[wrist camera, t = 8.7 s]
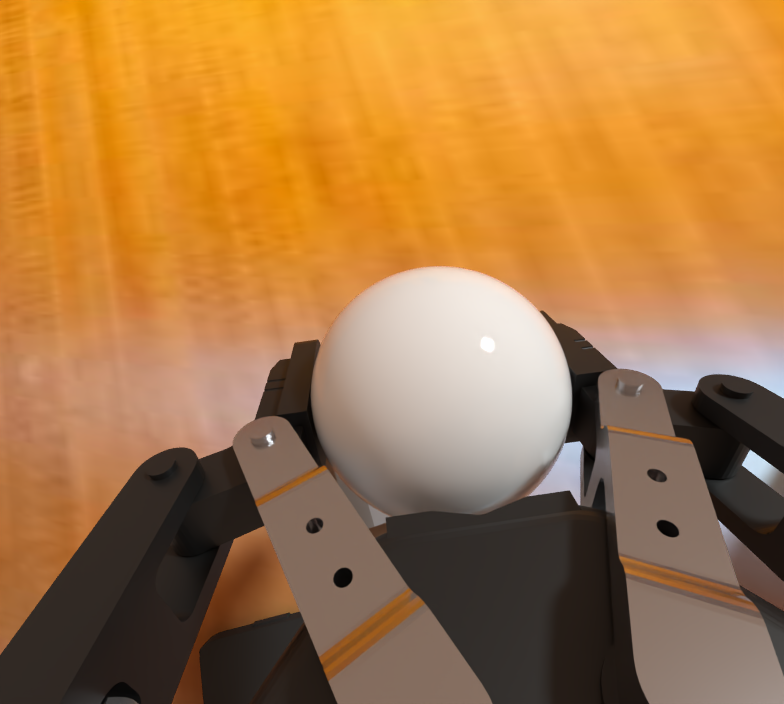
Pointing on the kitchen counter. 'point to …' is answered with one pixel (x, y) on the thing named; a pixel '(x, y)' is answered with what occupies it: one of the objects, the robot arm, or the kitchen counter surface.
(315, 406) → the lightbulb
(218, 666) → the smart home device
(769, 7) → the kitchen counter surface
